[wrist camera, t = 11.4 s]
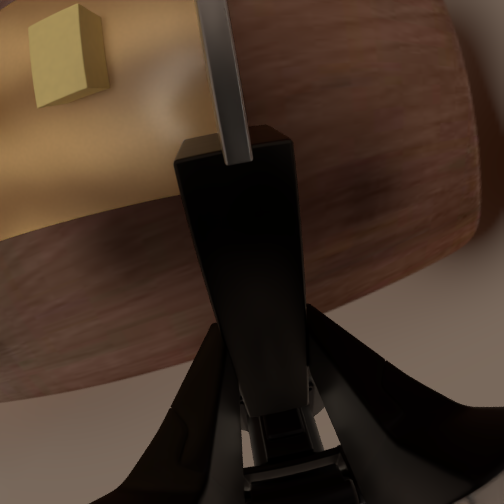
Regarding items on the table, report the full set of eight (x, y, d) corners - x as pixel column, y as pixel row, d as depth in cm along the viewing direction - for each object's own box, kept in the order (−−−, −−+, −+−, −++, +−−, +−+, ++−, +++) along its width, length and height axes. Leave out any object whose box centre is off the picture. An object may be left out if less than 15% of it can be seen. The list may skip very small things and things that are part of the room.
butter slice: (110, 88, 11) (87, 88, 9) (66, 104, 11) (36, 109, 9) (101, 16, 9) (78, 2, 7) (57, 34, 9) (27, 26, 7)
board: (226, 179, 16) (227, 186, 15) (-43, 251, 15) (-51, 259, 14) (192, -55, 9) (191, -64, 8) (-82, 89, 8) (-92, 92, 7)
